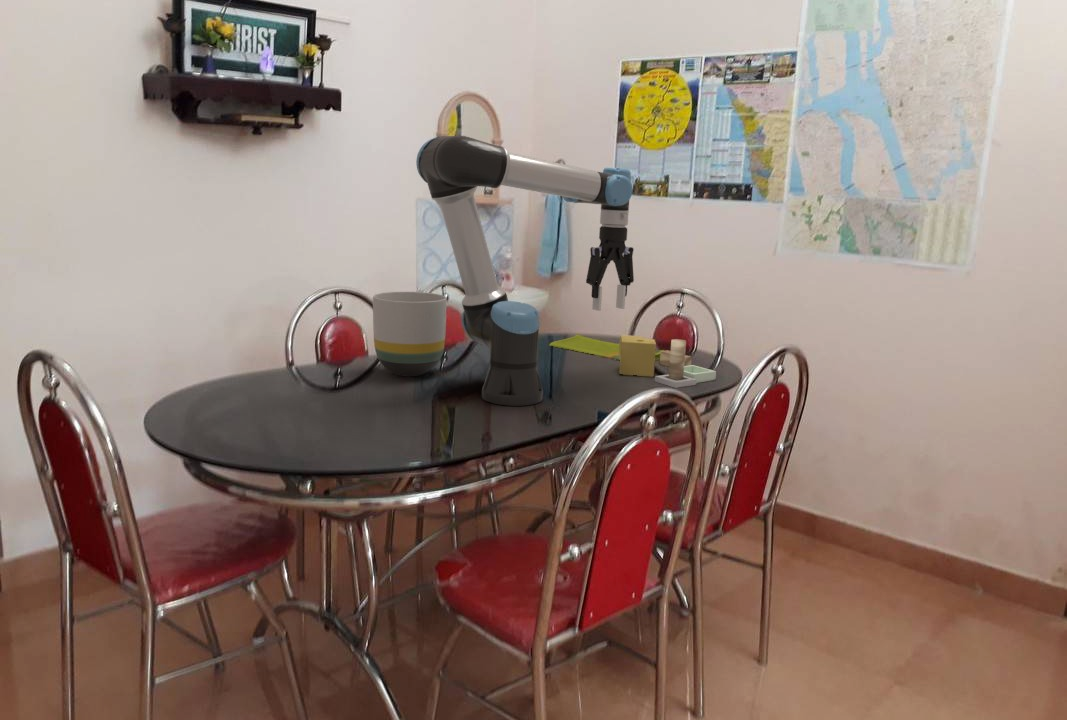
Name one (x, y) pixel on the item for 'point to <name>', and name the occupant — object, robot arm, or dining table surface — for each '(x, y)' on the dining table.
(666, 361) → the stop block
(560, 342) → the dish towel
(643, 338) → the cheese
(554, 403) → the dining table surface
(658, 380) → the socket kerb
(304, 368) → the dining table surface
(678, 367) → the dowel
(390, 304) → the planter
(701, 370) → the tray
